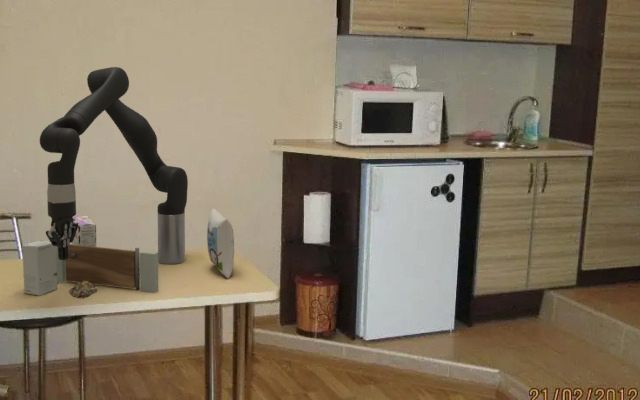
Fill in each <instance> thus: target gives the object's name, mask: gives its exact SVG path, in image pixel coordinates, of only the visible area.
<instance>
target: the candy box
mask: <svg viewBox="0 0 640 400" xmlns="http://www.w3.org/2000/svg"><path fill="white" fill-rule="evenodd" d="M73 222H74V223H76V224H78V229H77V231H76V234H75V237H74V240H73V242H72V243H71V244H72V245H82V246H92V247H97V224H96V223H95V222H94V221H93V220H92V219H91V218H90V217H89V216H88V215H81V216H73Z"/></svg>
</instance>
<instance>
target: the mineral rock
mask: <svg viewBox="0 0 640 400" xmlns="http://www.w3.org/2000/svg"><path fill="white" fill-rule="evenodd" d="M68 292H70V295H72V296H73V297H75V298H78V299H80V298H82V299H84V298H89V297H90V296H91V295H92V294H96V293H97V292H98V288H96V284H92V283H90V282H88V281H81V282H77V283H76V284H75V285H74V286H72V287H71V288H69V290H68Z"/></svg>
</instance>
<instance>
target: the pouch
mask: <svg viewBox="0 0 640 400" xmlns="http://www.w3.org/2000/svg"><path fill="white" fill-rule="evenodd" d="M206 231H207V232H206V235H207V236H206V238H207V239H206V240H207V252H208V256H209V259H210V261H211V263H212V264H213V265H214V266H215V267H216V269H217V270H219V272H220V273H221V274H222V275H223V276H224V277H225V278H226V279H230V276H231V275H232V272H233V268H234V262H235V237H234V236H235V235H234V229H233V226H232V223H231V222H230V220H229V219H227V218H225V216H223V215H222V214H221V213H220V212H219V211H218V210H216V209H215V208H214V207H212V209H211V211H210V213H209V217H208V221H207V230H206Z"/></svg>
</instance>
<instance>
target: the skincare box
mask: <svg viewBox="0 0 640 400" xmlns="http://www.w3.org/2000/svg"><path fill="white" fill-rule="evenodd" d="M21 246H22V266H23V267H22V268H23V292H24V294H29V295H33V296H42V295H44V294H48V293H49V292H51V291H56V290H57V289H58V282H57V263H56V246H53V245H52V244H51V242H50V240H38V241H33V242H30V243H26V244H23V245H21Z"/></svg>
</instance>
